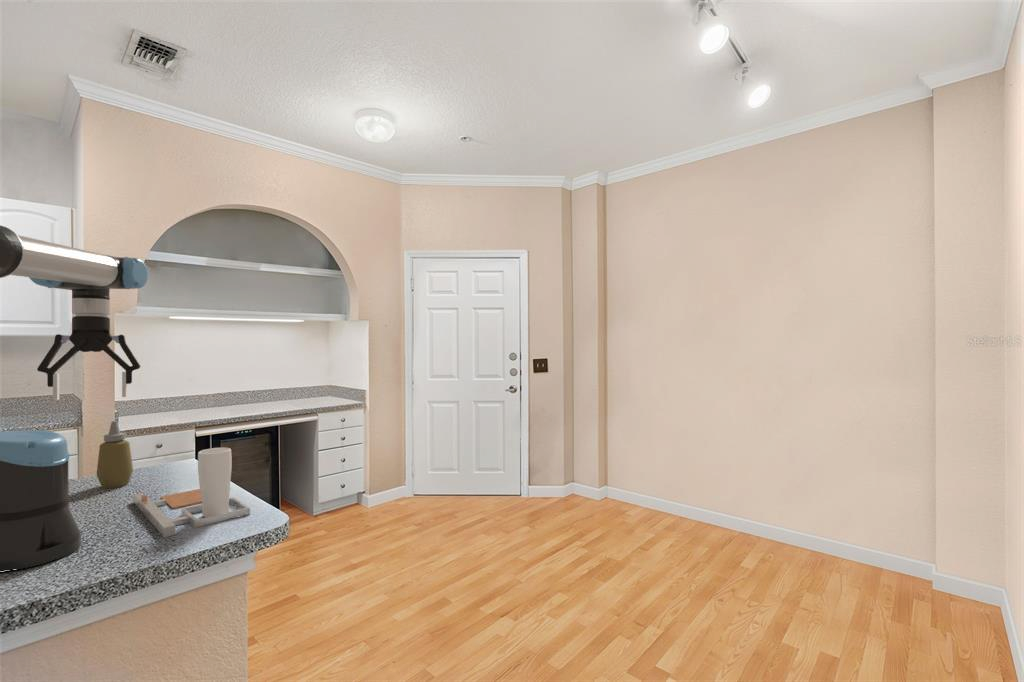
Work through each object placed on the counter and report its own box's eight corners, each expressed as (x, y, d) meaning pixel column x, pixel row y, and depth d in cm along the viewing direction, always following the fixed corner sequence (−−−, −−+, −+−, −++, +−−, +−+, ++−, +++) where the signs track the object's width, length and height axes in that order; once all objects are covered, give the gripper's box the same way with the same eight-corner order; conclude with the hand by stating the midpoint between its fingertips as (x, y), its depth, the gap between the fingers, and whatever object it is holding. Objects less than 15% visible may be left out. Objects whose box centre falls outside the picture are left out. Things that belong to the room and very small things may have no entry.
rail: (254, 515, 116) (254, 502, 116) (164, 537, 104) (163, 523, 104) (212, 486, 139) (211, 476, 139) (133, 502, 126) (133, 490, 126)
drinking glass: (230, 517, 115) (229, 452, 115) (195, 521, 113) (194, 455, 112) (234, 508, 121) (233, 446, 121) (201, 511, 119) (201, 448, 119)
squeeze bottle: (138, 484, 142) (137, 420, 142) (103, 491, 135) (102, 424, 135) (126, 479, 146) (125, 418, 146) (91, 487, 139) (90, 422, 139)
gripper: (151, 317, 140) (151, 394, 139) (29, 315, 126) (29, 400, 126) (149, 316, 133) (149, 396, 133) (21, 313, 120) (21, 402, 120)
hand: (91, 398), depth 130 cm, fingers open, 13 cm apart
